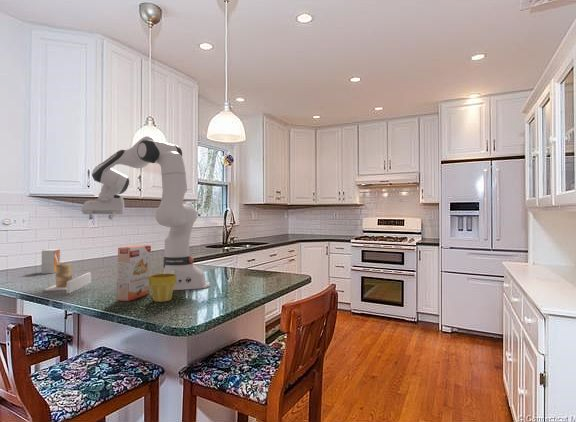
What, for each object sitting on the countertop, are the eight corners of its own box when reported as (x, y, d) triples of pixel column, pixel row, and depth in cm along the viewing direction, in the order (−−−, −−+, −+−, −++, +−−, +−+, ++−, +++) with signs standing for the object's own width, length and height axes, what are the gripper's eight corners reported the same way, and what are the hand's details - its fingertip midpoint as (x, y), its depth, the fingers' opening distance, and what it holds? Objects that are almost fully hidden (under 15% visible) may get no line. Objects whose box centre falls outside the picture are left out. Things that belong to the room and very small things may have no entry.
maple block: (71, 285, 161) (72, 263, 161) (68, 287, 157) (68, 264, 157) (60, 285, 160) (60, 263, 160) (56, 287, 156) (56, 265, 157)
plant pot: (153, 296, 143) (153, 273, 143) (178, 296, 144) (179, 273, 144) (144, 303, 132) (144, 277, 133) (172, 303, 133) (172, 277, 133)
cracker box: (129, 301, 134) (130, 247, 134) (115, 301, 135) (116, 247, 136) (150, 294, 148) (151, 244, 148) (138, 293, 149) (138, 244, 149)
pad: (82, 284, 166) (82, 283, 166) (71, 290, 154) (71, 288, 154) (56, 285, 164) (56, 284, 164) (43, 290, 152) (43, 289, 152)
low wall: (91, 282, 171) (91, 272, 171) (69, 293, 147) (69, 281, 147) (88, 282, 171) (88, 272, 171) (66, 293, 147) (66, 281, 147)
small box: (53, 273, 196) (54, 250, 196) (40, 273, 195) (41, 250, 195) (59, 271, 204) (60, 248, 204) (47, 271, 203) (47, 249, 203)
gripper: (84, 195, 185) (76, 214, 175) (125, 196, 188) (120, 214, 179) (87, 204, 189) (80, 222, 179) (127, 204, 193) (122, 222, 183)
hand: (100, 218), depth 179 cm, fingers open, 8 cm apart
